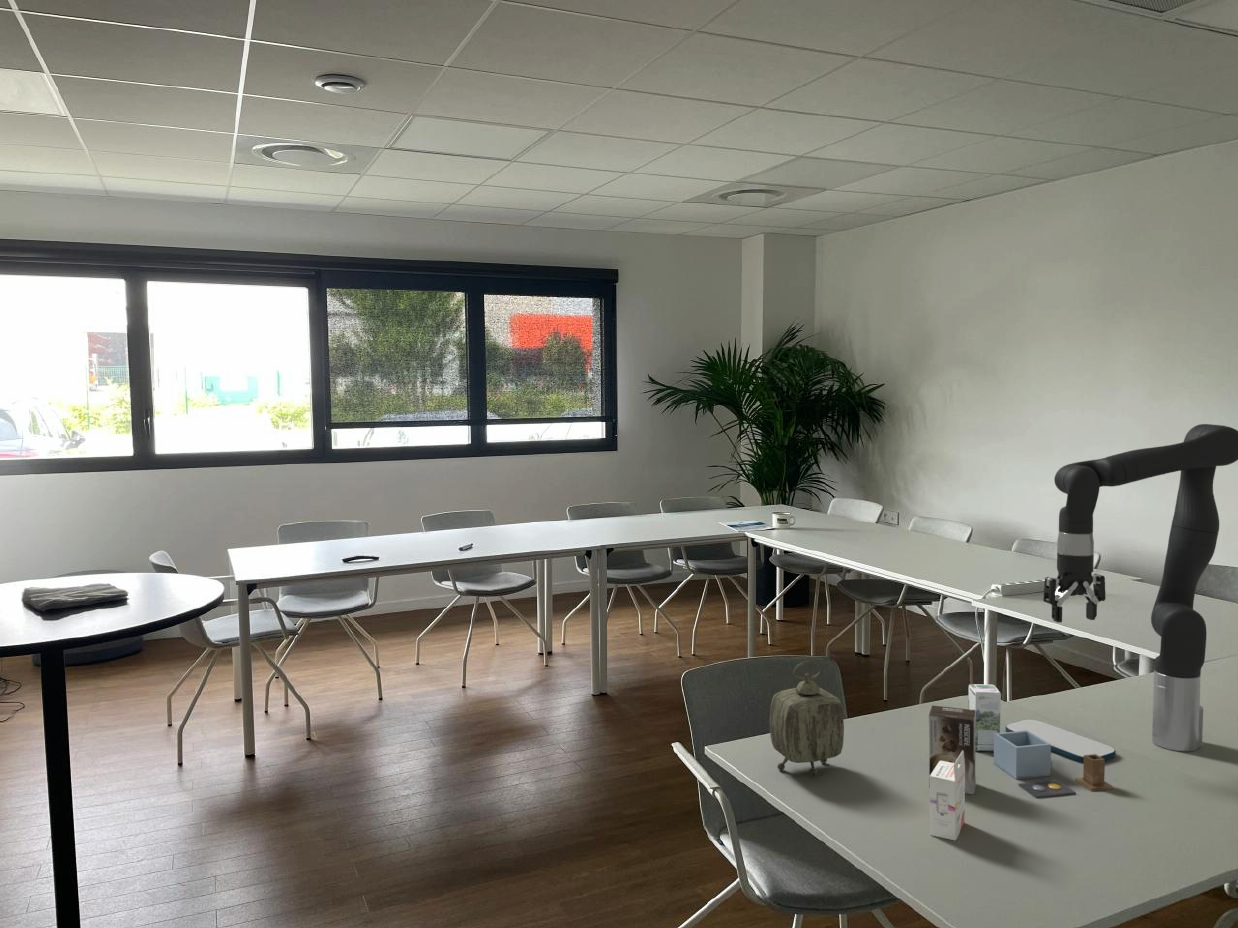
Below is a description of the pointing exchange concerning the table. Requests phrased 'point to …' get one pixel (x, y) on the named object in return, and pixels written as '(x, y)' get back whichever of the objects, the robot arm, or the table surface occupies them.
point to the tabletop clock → (806, 722)
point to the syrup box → (985, 714)
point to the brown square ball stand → (1094, 773)
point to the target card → (1046, 788)
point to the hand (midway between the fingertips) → (1074, 620)
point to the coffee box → (953, 740)
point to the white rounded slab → (1064, 741)
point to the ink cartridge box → (947, 798)
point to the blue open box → (1022, 754)
